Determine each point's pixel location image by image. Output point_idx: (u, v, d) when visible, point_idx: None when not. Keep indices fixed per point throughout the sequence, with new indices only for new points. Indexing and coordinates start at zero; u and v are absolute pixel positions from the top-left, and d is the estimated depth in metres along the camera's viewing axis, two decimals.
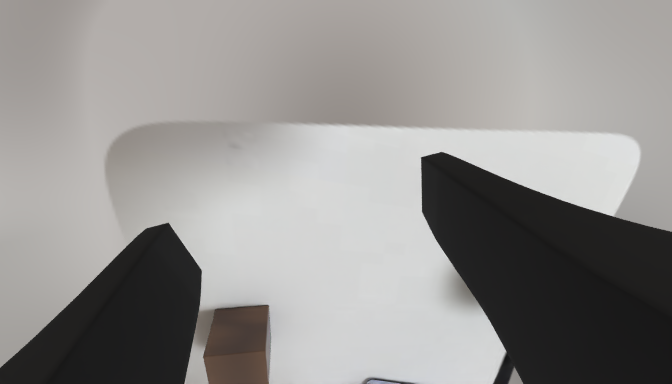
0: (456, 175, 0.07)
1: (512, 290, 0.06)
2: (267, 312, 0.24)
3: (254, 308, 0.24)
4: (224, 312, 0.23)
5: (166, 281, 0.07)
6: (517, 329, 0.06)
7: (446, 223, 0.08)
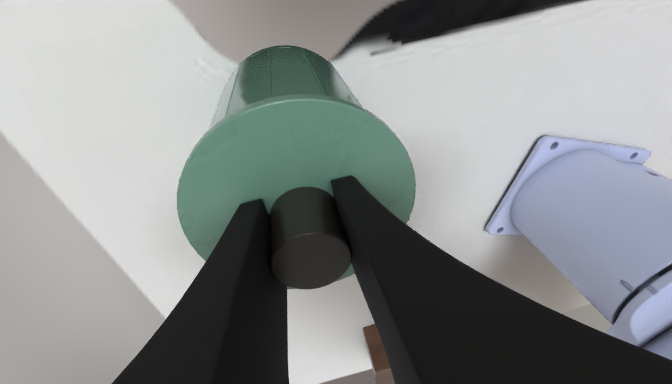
0: (346, 204, 0.07)
1: (383, 327, 0.06)
2: (365, 334, 0.28)
3: None
4: None
5: (268, 254, 0.08)
6: (392, 365, 0.06)
7: None
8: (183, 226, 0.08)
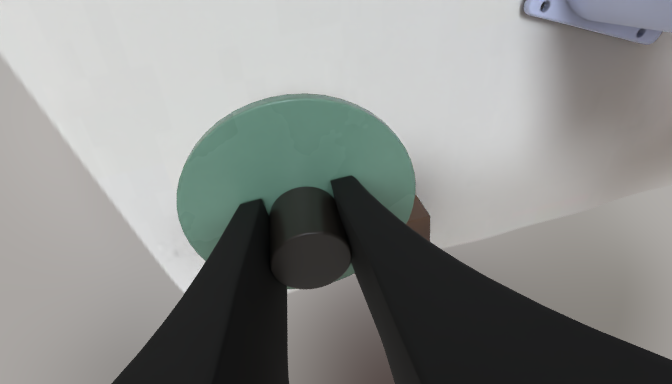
0: (346, 204, 0.07)
1: (383, 327, 0.06)
2: None
3: None
4: None
5: (268, 254, 0.08)
6: (392, 365, 0.06)
7: None
8: (183, 226, 0.08)
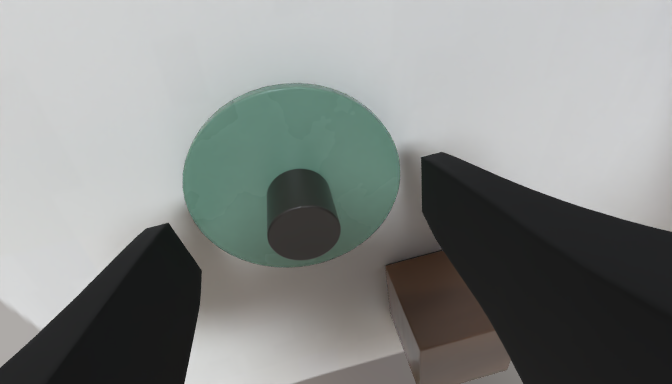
0: (456, 175, 0.07)
1: (512, 290, 0.06)
2: (390, 277, 0.14)
3: (388, 283, 0.14)
4: (392, 312, 0.16)
5: (166, 281, 0.07)
6: (517, 329, 0.06)
7: (445, 223, 0.08)
8: (188, 205, 0.09)
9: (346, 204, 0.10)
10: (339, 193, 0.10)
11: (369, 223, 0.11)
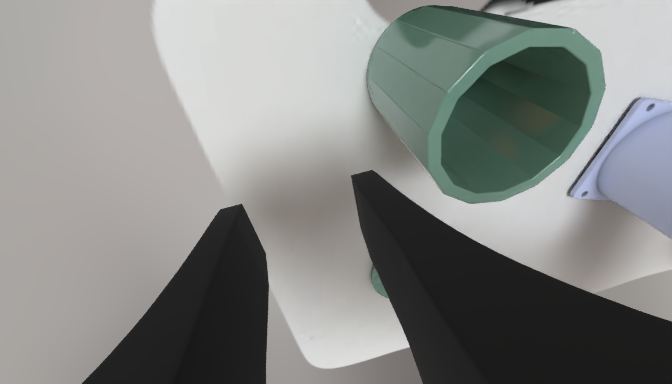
0: (371, 197, 0.07)
1: (413, 318, 0.06)
2: None
3: None
4: None
5: (247, 259, 0.08)
6: (421, 357, 0.06)
7: (372, 243, 0.08)
8: (373, 279, 0.25)
9: None
10: None
11: None
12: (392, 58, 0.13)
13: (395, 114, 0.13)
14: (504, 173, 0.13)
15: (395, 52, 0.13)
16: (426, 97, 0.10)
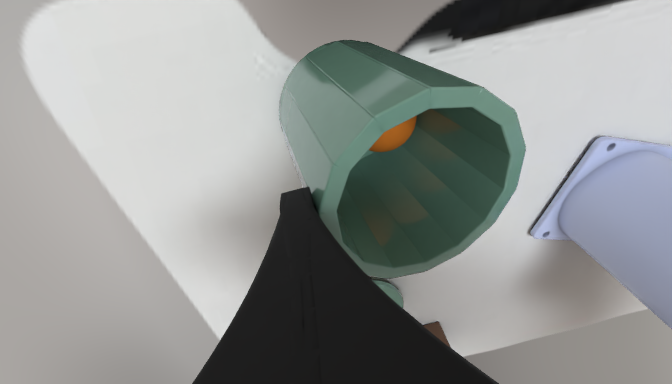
0: (286, 220, 0.07)
1: None
2: None
3: None
4: None
5: None
6: None
7: None
8: None
9: None
10: None
11: None
12: (295, 103, 0.11)
13: (298, 171, 0.11)
14: (427, 237, 0.11)
15: (298, 96, 0.11)
16: (317, 163, 0.08)
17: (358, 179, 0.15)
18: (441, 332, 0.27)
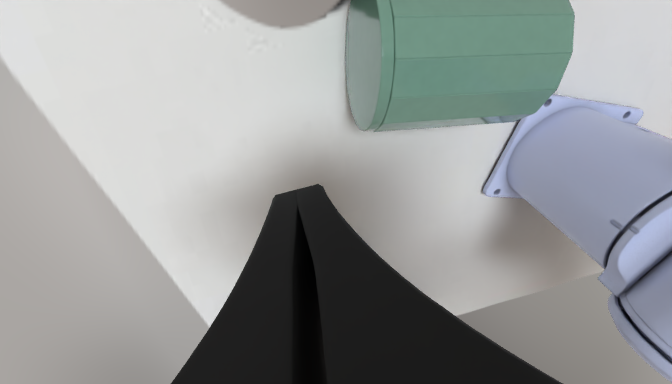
0: (305, 215, 0.07)
1: None
2: None
3: None
4: None
5: (307, 243, 0.08)
6: None
7: None
8: None
9: None
10: None
11: None
12: (457, 17, 0.11)
13: (494, 70, 0.12)
14: None
15: (455, 10, 0.11)
16: (552, 27, 0.12)
17: None
18: None
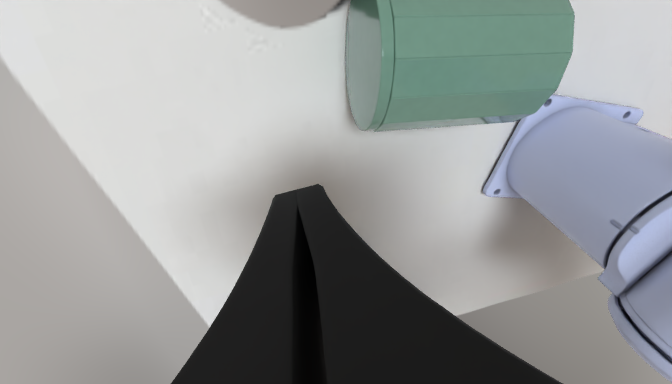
0: (305, 215, 0.07)
1: None
2: None
3: None
4: None
5: (307, 243, 0.08)
6: None
7: None
8: None
9: None
10: None
11: None
12: (457, 17, 0.11)
13: (494, 70, 0.12)
14: None
15: (455, 10, 0.11)
16: (552, 27, 0.12)
17: None
18: None
